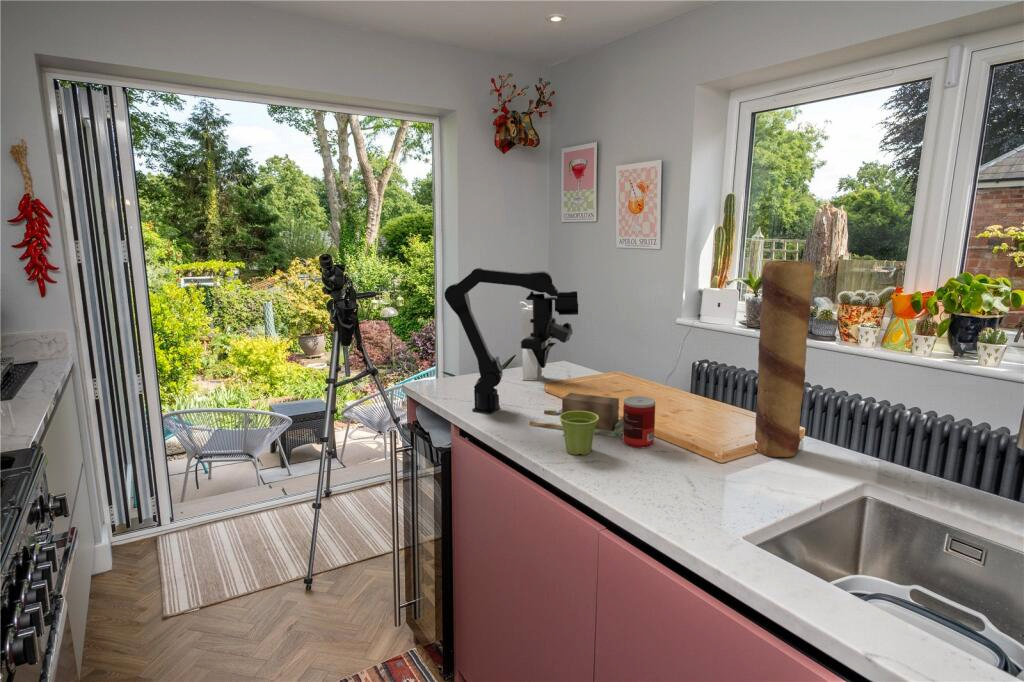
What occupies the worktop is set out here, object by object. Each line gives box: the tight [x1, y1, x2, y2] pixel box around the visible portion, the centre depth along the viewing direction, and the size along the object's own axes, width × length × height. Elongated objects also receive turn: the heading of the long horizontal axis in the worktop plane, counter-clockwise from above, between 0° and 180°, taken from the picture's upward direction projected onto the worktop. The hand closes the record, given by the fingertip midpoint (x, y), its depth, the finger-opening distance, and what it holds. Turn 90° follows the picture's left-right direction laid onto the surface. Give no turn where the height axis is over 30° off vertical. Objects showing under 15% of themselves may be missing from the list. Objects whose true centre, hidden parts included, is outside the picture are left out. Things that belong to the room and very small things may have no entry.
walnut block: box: [561, 392, 620, 431], centre depth 155 cm, size 14×6×8 cm, turn 64°
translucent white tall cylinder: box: [519, 301, 545, 382], centre depth 206 cm, size 8×8×28 cm
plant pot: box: [559, 411, 599, 456], centre depth 138 cm, size 9×9×9 cm
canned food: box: [622, 395, 656, 449], centre depth 142 cm, size 8×8×11 cm
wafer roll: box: [754, 259, 815, 459], centre depth 133 cm, size 10×11×45 cm
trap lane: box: [529, 408, 623, 438], centre depth 158 cm, size 25×22×3 cm
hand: (542, 367), depth 169 cm, fingers closed
